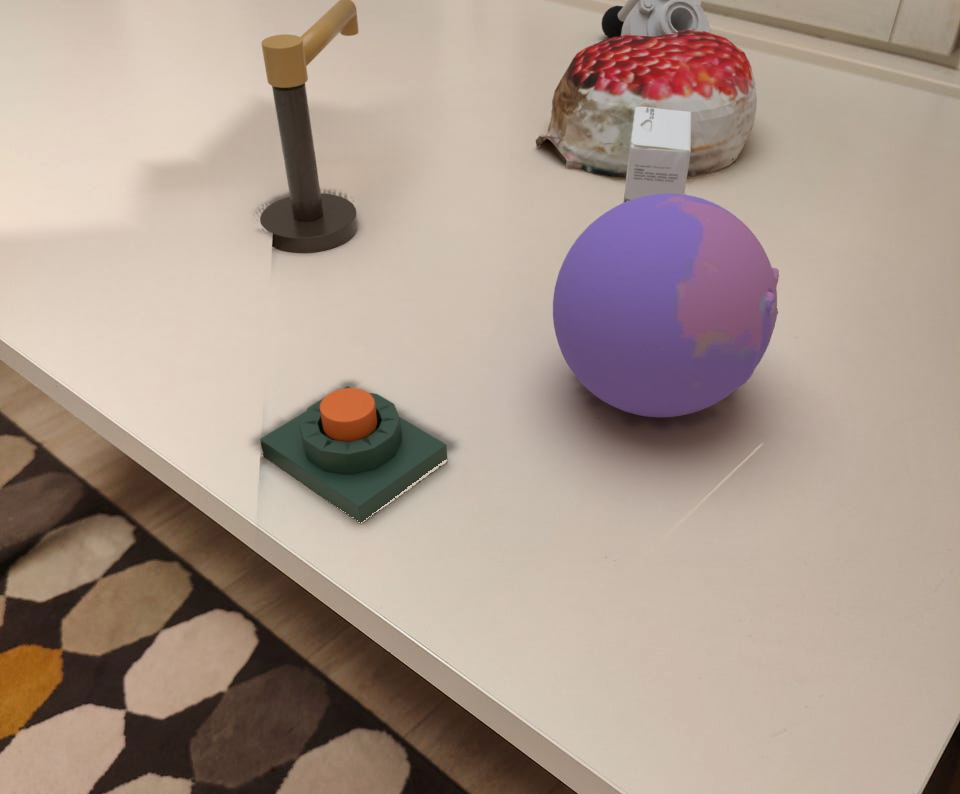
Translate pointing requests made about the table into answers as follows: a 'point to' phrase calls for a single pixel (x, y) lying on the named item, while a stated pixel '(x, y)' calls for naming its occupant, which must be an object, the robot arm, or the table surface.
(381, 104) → the table surface
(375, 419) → the button
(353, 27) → the spout
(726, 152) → the cake
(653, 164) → the ink box
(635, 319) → the decorative ball
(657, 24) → the valve
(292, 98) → the faucet base
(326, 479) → the button box
